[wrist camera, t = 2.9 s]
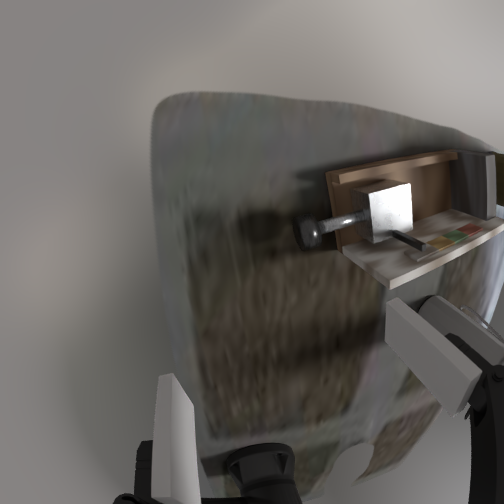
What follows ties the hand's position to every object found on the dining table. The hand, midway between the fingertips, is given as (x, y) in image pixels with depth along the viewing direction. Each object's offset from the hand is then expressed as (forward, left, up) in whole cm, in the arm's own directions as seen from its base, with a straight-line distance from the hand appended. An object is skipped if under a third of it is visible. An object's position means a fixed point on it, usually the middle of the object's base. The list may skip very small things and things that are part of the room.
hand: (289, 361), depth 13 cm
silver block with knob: (+13, 0, -18) cm, 22 cm away
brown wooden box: (+24, 0, -20) cm, 31 cm away
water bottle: (+30, -23, -20) cm, 43 cm away
